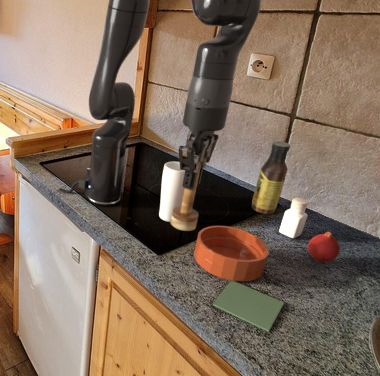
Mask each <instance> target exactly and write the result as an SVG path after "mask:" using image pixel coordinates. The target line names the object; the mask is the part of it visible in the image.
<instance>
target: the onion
mask: <svg viewBox="0 0 380 376" xmlns="http://www.w3.org/2000/svg"><path fill="white" fill-rule="evenodd" d="M307 250H308V254H309V255H310V256H311V258H312V259H313V260H314V262H316V263H317V264H323V263H324V264H325V263H329V262H333V261H334V260H336V259H337V258H338V256H339V254H340V251H341V247H340V244H339V241H338V240H337V239H336V238H335V236H333V234H332V232H330V231H326V232H325V233H319V234H317V235H315V236H313V237H312V238H311V239H310V240H309V242H308V245H307Z"/></svg>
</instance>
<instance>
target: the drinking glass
mask: <svg viewBox="0 0 380 376" xmlns="http://www.w3.org/2000/svg"><path fill="white" fill-rule="evenodd" d="M184 174H185V170H181V169H180V162H179V161H168V162H165V163H164V166H163V170H162V176H161V184H160V185H161V186H160V187H161V188H160V203H159V211H158V216H159V218H160V219H161V220H162V221H164V222H168V223H171V217H172V212H173V209H174V208H175V207H181V205H182V199H183V194H184V189H185V188H183V186H182V184H183V179H184Z"/></svg>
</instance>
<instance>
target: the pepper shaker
mask: <svg viewBox="0 0 380 376" xmlns="http://www.w3.org/2000/svg"><path fill="white" fill-rule="evenodd" d="M308 204H309V201H308V200H306V199H304V198H301V197H293V199H292V201H291V204H290V208H289V209H286V210H285V211H284V214H283V217H282V220H281V224H280V226H279V230H278V232H279V233H280V234H281V235H284V236H286V237H288V238H291V239H295V238H298V237H300V236H301V235H302V233H303V230H304V228H305V225H306V221H307V218H308V214H307V212H305V211H306V210H307V206H308Z"/></svg>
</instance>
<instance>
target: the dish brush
mask: <svg viewBox="0 0 380 376" xmlns="http://www.w3.org/2000/svg"><path fill="white" fill-rule="evenodd" d="M200 168H201V163H199V167H198V171H197V176H196V181H195V186H194V188H193V189H192V190H189V189H186V188H185V189H184V194H183V199H182V205H181V207H175V208H174V209H173V212H172V217H171V222H170V225H171V226H172V227H173V228H175V229H176V230H179V231H184V232H190V231H194V230H196V228H197V224H198V220H199V212H198V211H197V210H195V209H194V208H193V206H194V201H195V198H196V193H197V187H198V186H197V183H198V178H199V173H200Z"/></svg>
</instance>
